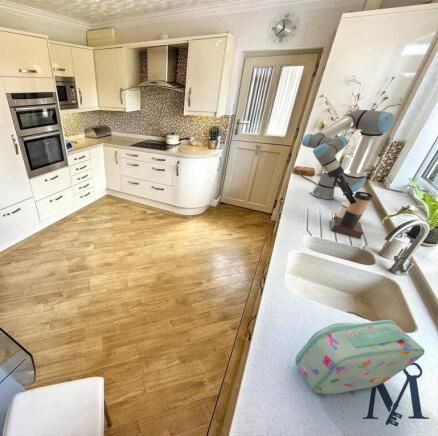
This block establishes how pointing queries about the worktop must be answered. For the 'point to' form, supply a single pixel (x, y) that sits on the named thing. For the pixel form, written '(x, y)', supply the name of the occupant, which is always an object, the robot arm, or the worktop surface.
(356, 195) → the travel mug
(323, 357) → the lunch box
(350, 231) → the block
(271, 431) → the worktop surface
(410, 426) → the worktop surface
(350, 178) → the robot arm
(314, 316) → the worktop surface
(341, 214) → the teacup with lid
